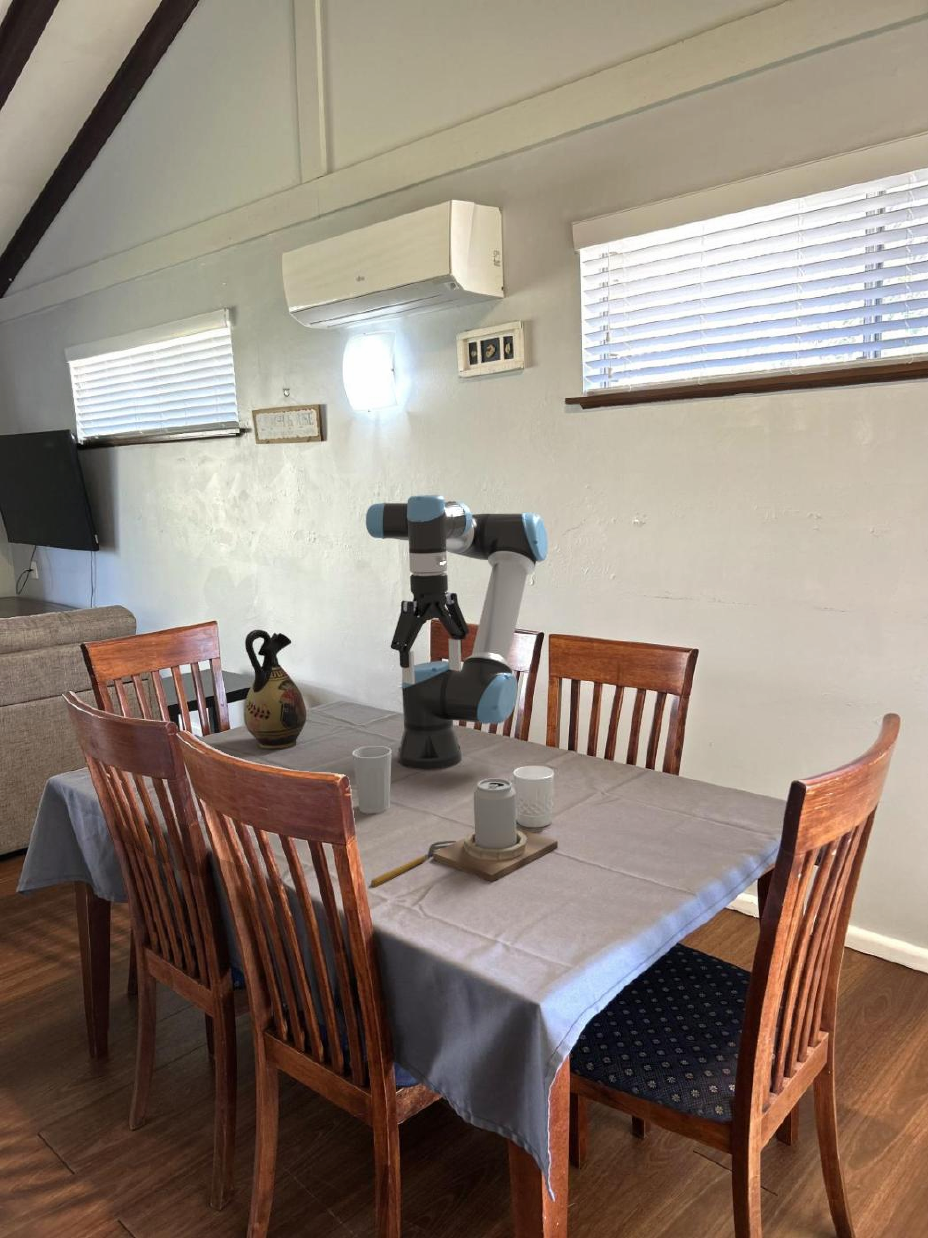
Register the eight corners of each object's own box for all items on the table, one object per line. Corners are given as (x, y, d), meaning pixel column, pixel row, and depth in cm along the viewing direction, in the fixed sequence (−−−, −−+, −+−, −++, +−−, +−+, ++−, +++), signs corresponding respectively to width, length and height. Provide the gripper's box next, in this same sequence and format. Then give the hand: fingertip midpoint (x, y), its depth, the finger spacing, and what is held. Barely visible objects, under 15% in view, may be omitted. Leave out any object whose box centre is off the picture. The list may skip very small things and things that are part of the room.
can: (523, 841, 168) (521, 778, 166) (507, 858, 161) (505, 792, 159) (485, 835, 171) (483, 773, 169) (468, 851, 164) (466, 787, 162)
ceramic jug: (287, 731, 246) (279, 621, 241) (319, 743, 235) (312, 627, 230) (229, 746, 235) (220, 630, 230) (260, 759, 224) (252, 637, 219)
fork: (377, 881, 154) (456, 839, 168) (369, 875, 155) (449, 834, 169) (375, 894, 154) (454, 851, 169) (367, 888, 156) (447, 846, 170)
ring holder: (499, 828, 177) (499, 814, 177) (557, 847, 168) (557, 833, 167) (433, 859, 164) (432, 844, 164) (492, 881, 155) (491, 866, 155)
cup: (387, 816, 185) (385, 758, 183) (349, 814, 187) (346, 757, 185) (398, 801, 193) (396, 746, 191) (362, 800, 195) (359, 745, 193)
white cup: (558, 815, 183) (558, 767, 181) (549, 831, 175) (548, 780, 174) (520, 812, 185) (519, 764, 184) (509, 826, 178) (508, 777, 176)
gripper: (396, 581, 173) (401, 691, 177) (483, 567, 191) (486, 667, 195) (369, 579, 178) (374, 686, 182) (457, 565, 196) (460, 662, 200)
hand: (432, 676), depth 189 cm, fingers open, 13 cm apart
